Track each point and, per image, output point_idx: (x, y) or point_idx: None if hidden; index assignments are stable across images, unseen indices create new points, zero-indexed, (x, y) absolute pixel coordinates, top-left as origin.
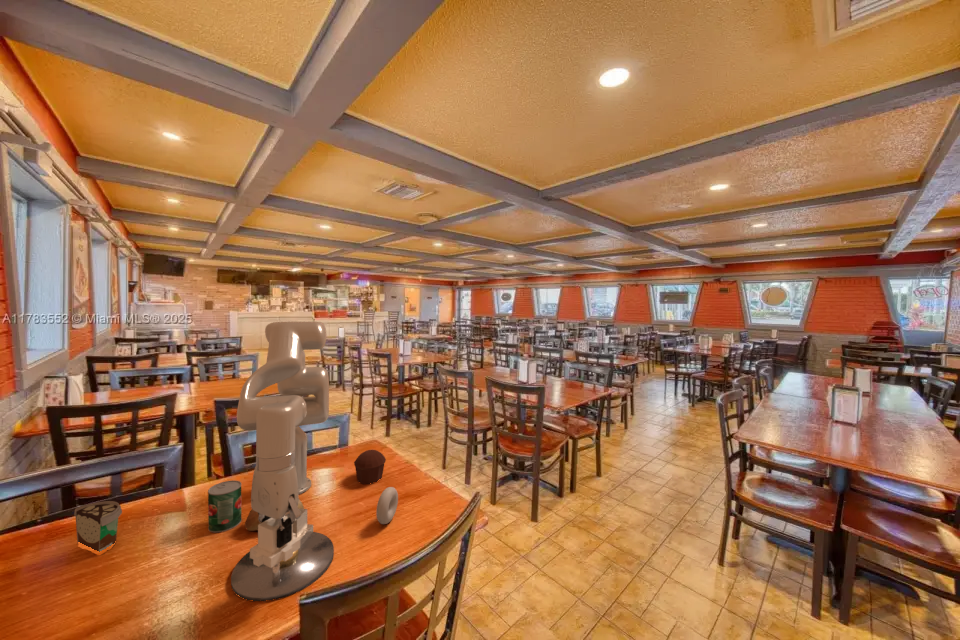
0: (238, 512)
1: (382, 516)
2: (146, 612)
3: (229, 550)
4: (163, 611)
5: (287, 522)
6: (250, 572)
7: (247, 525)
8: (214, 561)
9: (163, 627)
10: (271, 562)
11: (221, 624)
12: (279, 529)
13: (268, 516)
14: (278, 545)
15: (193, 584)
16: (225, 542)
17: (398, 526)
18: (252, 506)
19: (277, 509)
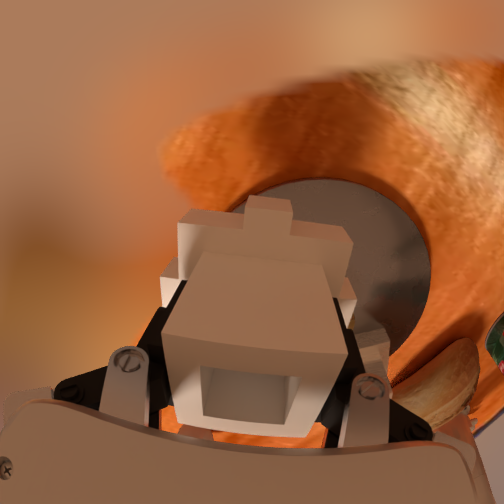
0: (497, 355)
1: (180, 432)
2: (482, 102)
3: (469, 286)
4: (461, 107)
5: (63, 385)
6: (375, 246)
7: (469, 344)
8: (477, 252)
9: (422, 69)
10: (185, 218)
11: (305, 100)
12: (157, 354)
13: (156, 437)
14: (178, 286)
15: (471, 184)
16: (485, 299)
17: (173, 416)
18: (447, 468)
19: (10, 470)
